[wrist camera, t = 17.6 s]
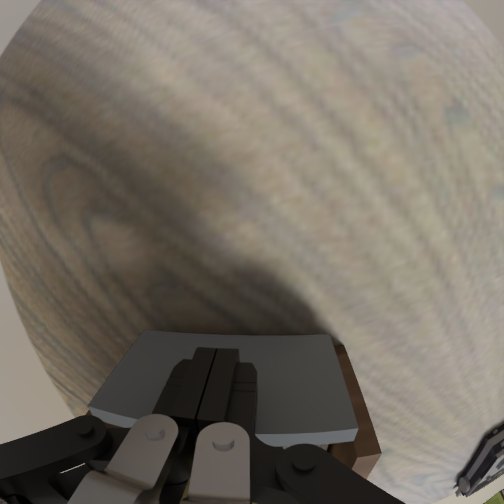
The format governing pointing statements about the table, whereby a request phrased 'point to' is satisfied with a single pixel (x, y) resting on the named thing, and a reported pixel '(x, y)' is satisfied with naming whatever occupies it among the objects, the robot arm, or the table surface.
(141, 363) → the tray
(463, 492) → the radio
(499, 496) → the protein box
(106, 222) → the table surface
